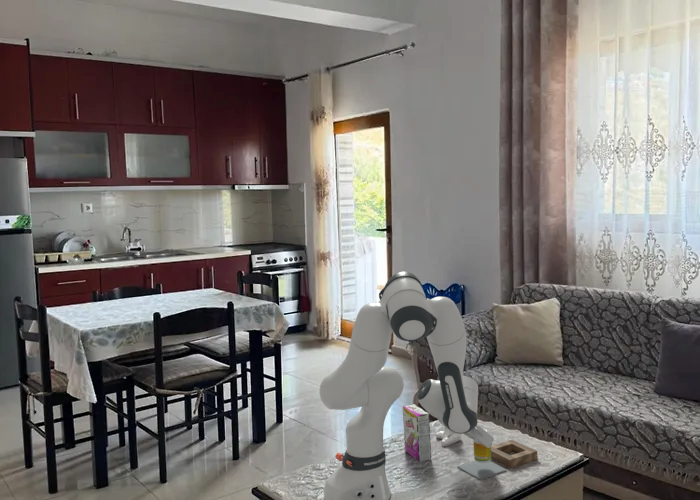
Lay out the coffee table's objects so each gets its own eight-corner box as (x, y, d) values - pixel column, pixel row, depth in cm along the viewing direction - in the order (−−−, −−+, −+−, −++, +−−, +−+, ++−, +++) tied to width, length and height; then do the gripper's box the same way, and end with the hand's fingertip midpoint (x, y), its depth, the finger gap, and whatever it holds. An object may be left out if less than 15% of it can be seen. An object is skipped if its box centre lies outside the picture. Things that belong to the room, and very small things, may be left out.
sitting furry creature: (434, 437, 243) (433, 405, 242) (457, 434, 245) (455, 403, 244) (442, 447, 234) (441, 414, 233) (465, 444, 236) (464, 411, 234)
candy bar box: (403, 451, 232) (401, 405, 230) (416, 448, 234) (414, 403, 232) (418, 463, 222) (416, 415, 220) (432, 460, 224) (430, 413, 222)
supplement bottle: (491, 463, 211) (490, 434, 210) (474, 463, 212) (472, 433, 211) (491, 456, 216) (489, 427, 215) (474, 456, 217) (472, 427, 216)
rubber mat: (479, 480, 207) (479, 478, 207) (457, 467, 217) (457, 466, 217) (506, 471, 212) (506, 469, 212) (483, 459, 222) (483, 458, 222)
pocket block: (510, 468, 214) (509, 459, 214) (485, 456, 224) (485, 447, 224) (537, 459, 220) (537, 450, 219) (512, 448, 230) (511, 439, 230)
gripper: (480, 419, 200) (508, 444, 205) (445, 401, 219) (471, 424, 223) (468, 436, 199) (496, 461, 203) (434, 416, 217) (460, 439, 222)
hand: (483, 442), depth 213 cm, fingers closed on supplement bottle, 5 cm apart
